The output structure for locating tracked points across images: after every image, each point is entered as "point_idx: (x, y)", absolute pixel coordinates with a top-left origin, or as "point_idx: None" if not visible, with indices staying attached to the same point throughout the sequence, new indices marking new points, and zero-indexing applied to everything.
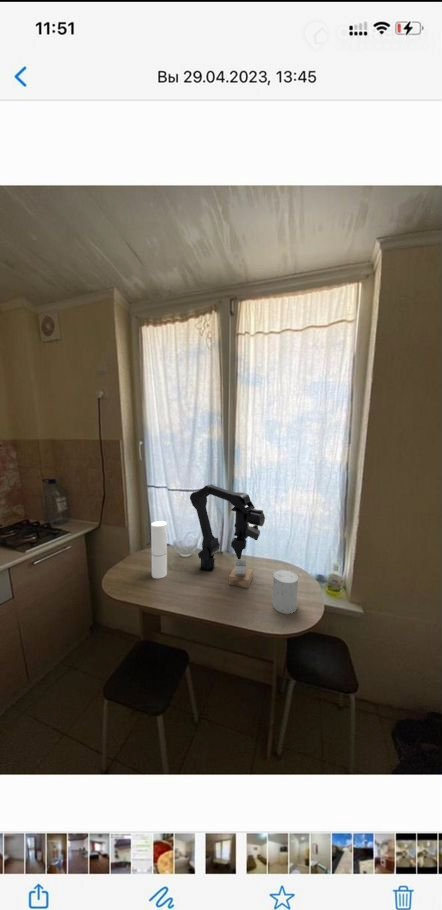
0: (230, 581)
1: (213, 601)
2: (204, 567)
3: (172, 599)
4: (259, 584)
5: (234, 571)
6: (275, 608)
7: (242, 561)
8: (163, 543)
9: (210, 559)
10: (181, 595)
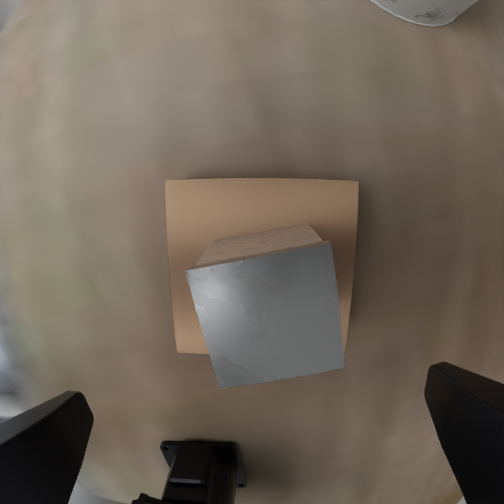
0: None
1: (485, 339)
2: (236, 481)
3: None
4: (263, 107)
5: None
6: (455, 17)
7: (231, 315)
8: None
9: (215, 501)
10: None
